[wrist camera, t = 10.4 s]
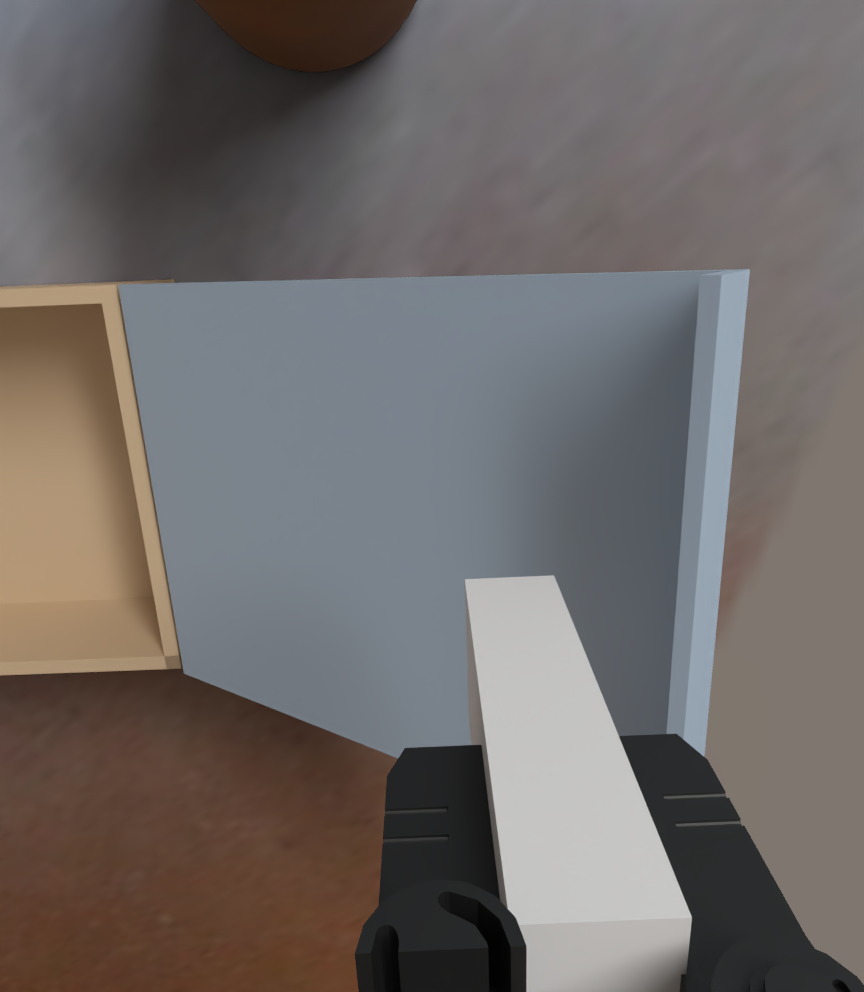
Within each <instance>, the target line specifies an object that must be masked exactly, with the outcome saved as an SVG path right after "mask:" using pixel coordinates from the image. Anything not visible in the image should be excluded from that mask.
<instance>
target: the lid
mask: <svg viewBox="0 0 864 992" xmlns="http://www.w3.org/2000/svg"><path fill="white" fill-rule="evenodd" d="M749 273H750V269H741V270H699V271H657V272H615V273H573V274H531V275H489V276H447V277H405V278H363V279H321V280H279V281H237V282H195V283H153V284H121V285H118V287H119V293H120V299H121V305H122V311H123V317H124V323H125V329H126V334H127V340H128V346H129V352H130V358H131V364H132V370H133V376H134V382H135V388H136V394H137V399H138V405H139V411H140V417H141V423H142V429H143V435H144V441H145V447H146V453H147V459H148V464H149V470H150V476H151V482H152V488H153V494H154V500H155V506H156V512H157V518H158V524H159V529H160V535H161V541H162V547H163V553H164V559H165V565H166V571H167V577H168V583H169V589H170V594H171V600H172V606H173V612H174V618H175V624H176V630H177V636H178V642H179V648H180V654H181V659H182V665H183V671H184V674H186V675H189V676H191V677H194V678H196V679H199V680H201V681H204V682H206V683H209V684H211V685H214V686H217V687H219V688H222V689H224V690H227V691H229V692H232V693H234V694H237V695H239V696H242V697H244V698H247V699H249V700H252V701H254V702H257V703H259V704H262V705H264V706H267V707H270V708H272V709H275V710H277V711H280V712H282V713H285V714H287V715H290V716H292V717H295V718H297V719H300V720H302V721H305V722H307V723H310V724H312V725H315V726H317V727H320V728H323V729H325V730H328V731H330V732H333V733H335V734H338V735H340V736H343V737H345V738H348V739H350V740H353V741H355V742H358V743H360V744H363V745H365V746H368V747H370V748H373V749H376V750H378V751H381V752H383V753H386V754H388V755H391V756H393V757H396V758H399V757H400V755H401V753H402V752H403V750H404V749H405V748H415V747H438V746H461V745H472V744H471V734H470V724H469V707H468V672H467V638H466V603H465V579H481V578H504V577H528V576H551V575H554V577H555V579H556V582H557V584H558V587H559V589H560V592H561V594H562V596H563V599H564V601H565V604H566V606H567V609H568V611H569V614H570V616H571V619H572V621H573V624H574V626H575V629H576V631H577V634H578V636H579V639H580V641H581V644H582V646H583V649H584V651H585V654H586V656H587V658H588V661H589V663H590V666H591V668H592V671H593V673H594V676H595V678H596V681H597V683H598V686H599V688H600V691H601V693H602V696H603V698H604V701H605V703H606V706H607V708H608V711H609V713H610V715H611V718H612V720H613V723H614V725H615V728H616V730H617V733H618V735H619V736H632V735H655V734H678V735H679V736H680V737H681V738H682V739H684V740H685V741H686V742H687V743H688V744H689V745H691V746H692V747H693V748H694V749H695V750H697V751H698V752H699V753H700V754H701V755H702V756H704V753H705V743H706V732H707V722H708V711H709V699H710V689H711V679H712V668H713V658H714V647H715V636H716V626H717V615H718V604H719V594H720V583H721V572H722V562H723V551H724V540H725V530H726V519H727V508H728V498H729V487H730V476H731V466H732V455H733V444H734V433H735V423H736V412H737V401H738V391H739V380H740V369H741V359H742V348H743V337H744V327H745V316H746V305H747V295H748V284H749Z"/></svg>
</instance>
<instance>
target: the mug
mask: <svg viewBox="0 0 864 992" xmlns="http://www.w3.org/2000/svg"><path fill="white" fill-rule="evenodd" d="M195 1H196V2H197V3H198V4H199V5H200V6H201V7H202V8H203V9H204V10H205V11H206V12H207V13H208V14H209V15H210V16H211V17H212V19H213V20H214V21H215V22H216V23H217V24H218V25H219V26H220V27H221V28H222V29H223V30H224V31H225V32H226V33H227V34H228V35H229V36H230V37H232V38H233V39H234V40H235V41H236V42H237V43H238V44H240V45H241V46H242V47H244V48H245V49H247V50H248V51H250V52H251V53H253V54H254V55H256V56H258V57H260V58H261V59H263V60H265V61H267V62H269V63H272V64H275V65H278V66H281V67H283V68H287V69H292V70H297V71H307V72H322V71H331V70H336V69H340V68H344V67H348V66H350V65H352V64H355V63H357V62H359V61H362V60H363V59H365V58H367V57H368V56H370V55H371V54H373V53H375V52H376V51H377V50H378V49H379V48H381V47H382V46H383V45H384V44H386V43H387V42H388V41H389V40H390V38H391V37H392V36H393V35H394V34H395V33H396V32H397V31H398V30H399V28H400V27H401V26H402V24H403V23H404V21H405V20H406V18H407V17H408V16H409V14H410V12H411V10H412V8H413V6H414V5H415V3H416V1H417V0H195Z"/></svg>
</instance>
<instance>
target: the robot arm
mask: <svg viewBox="0 0 864 992" xmlns="http://www.w3.org/2000/svg"><path fill="white" fill-rule="evenodd" d="M465 603H466V638H467V672H468V707H469V724H470V734H471V744H472V745H461V746H438V747H415V748H405V749H404V750H403V752H402V753H401V755H400V757H399V758H398V760H397V761H396V763H395V765H394V766H393V768H392V769H391V771H390V773H389V774H388V776H387V787H386V802H385V818H384V833H383V848H382V864H381V879H380V895H379V906H378V908H377V909H376V910H375V911H374V913H373V914H372V915H371V916H370V918H369V919H368V920H367V921H366V923H365V924H364V926H363V929H362V932H361V936H360V939H359V942H358V945H357V949H356V952H355V959H356V969H357V979H358V989H359V992H864V985H863V984H862V982H861V981H860V980H859V979H858V978H857V976H855V975H854V974H853V973H851V972H850V971H849V970H847V969H846V968H845V967H843V966H842V965H840V964H839V963H838V962H837V961H835V960H834V959H832V958H831V957H830V956H829V955H827V954H825V953H823V952H821V951H818V950H816V949H814V947H813V946H812V944H811V943H810V941H809V940H808V938H807V937H806V936H805V934H804V932H803V931H802V928H801V927H800V925H799V923H798V921H797V920H796V918H795V916H794V914H793V912H792V911H791V909H790V907H789V905H788V903H787V901H786V900H785V898H784V896H783V894H782V892H781V891H780V889H779V887H778V885H777V884H776V882H775V880H774V878H773V876H772V875H771V873H770V871H769V869H768V867H767V866H766V864H765V862H764V861H763V859H762V857H761V855H760V853H759V851H758V850H757V848H756V846H755V844H754V842H753V841H752V839H751V837H750V835H749V833H748V832H747V830H746V828H745V826H742V825H741V822H740V817H739V816H738V814H737V812H736V810H735V808H734V807H733V805H732V803H731V801H730V799H729V798H726V796H725V790H724V789H723V787H722V785H721V783H720V781H719V780H718V778H717V776H716V774H715V772H714V771H713V769H712V767H711V765H710V763H709V762H708V760H707V759H706V758H705V757H704V756H702V755H701V754H700V753H699V752H698V751H697V750H695V749H694V748H693V747H692V746H691V745H689V744H688V743H687V742H686V741H685V740H684V739H682V738H681V737H680V736H679V735H678V734H655V735H632V736H619V735H618V733H617V730H616V728H615V725H614V723H613V720H612V718H611V715H610V713H609V711H608V708H607V706H606V703H605V701H604V698H603V696H602V693H601V691H600V688H599V686H598V683H597V681H596V678H595V676H594V673H593V671H592V668H591V666H590V663H589V661H588V658H587V656H586V654H585V651H584V649H583V646H582V644H581V641H580V639H579V636H578V634H577V631H576V629H575V626H574V624H573V621H572V619H571V616H570V614H569V611H568V609H567V606H566V604H565V601H564V599H563V596H562V594H561V592H560V589H559V587H558V584H557V582H556V579H555V577H554V575H551V576H528V577H504V578H481V579H465Z"/></svg>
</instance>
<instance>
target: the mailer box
mask: <svg viewBox="0 0 864 992" xmlns="http://www.w3.org/2000/svg"><path fill="white" fill-rule="evenodd" d="M153 283H175V282H174V279H168V280H144V281H120V282H96V283H72V284H48V285H24V286H1V287H0V675H23V674H50V673H77V672H104V671H131V670H157V669H181V668H182V667H183V665H182V659H181V654H180V648H179V642H178V636H177V630H176V624H175V618H174V612H173V606H172V600H171V594H170V589H169V583H168V577H167V571H166V565H165V559H164V553H163V547H162V541H161V535H160V529H159V524H158V518H157V512H156V506H155V500H154V494H153V488H152V482H151V476H150V470H149V464H148V459H147V453H146V447H145V441H144V435H143V429H142V423H141V417H140V411H139V405H138V399H137V394H136V388H135V382H134V376H133V370H132V364H131V358H130V352H129V346H128V340H127V334H126V329H125V323H124V317H123V311H122V305H121V299H120V293H119V287H118V285H121V284H153Z"/></svg>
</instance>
